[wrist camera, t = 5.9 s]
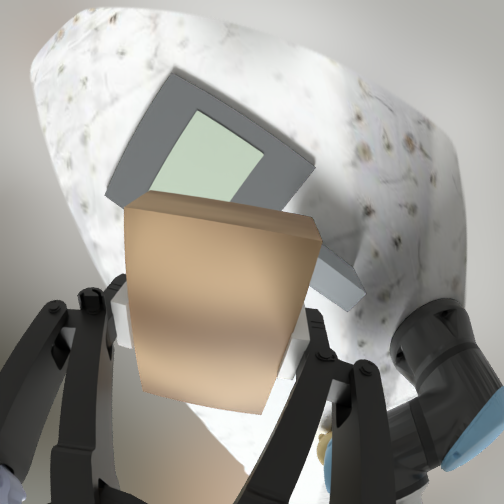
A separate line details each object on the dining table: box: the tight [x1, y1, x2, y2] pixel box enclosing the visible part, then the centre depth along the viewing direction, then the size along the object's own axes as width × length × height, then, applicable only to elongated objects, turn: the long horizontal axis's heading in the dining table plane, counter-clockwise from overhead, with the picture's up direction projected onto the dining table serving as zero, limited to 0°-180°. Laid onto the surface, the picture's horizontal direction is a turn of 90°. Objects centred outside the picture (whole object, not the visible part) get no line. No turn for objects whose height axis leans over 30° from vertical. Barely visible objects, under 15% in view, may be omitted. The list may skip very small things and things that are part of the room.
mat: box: [104, 73, 316, 211], centre depth 30 cm, size 19×17×1 cm
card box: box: [124, 190, 323, 415], centre depth 13 cm, size 11×7×2 cm, turn 171°
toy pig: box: [317, 431, 332, 466], centre depth 46 cm, size 10×12×11 cm
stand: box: [309, 244, 366, 312], centre depth 31 cm, size 8×3×6 cm, turn 55°
